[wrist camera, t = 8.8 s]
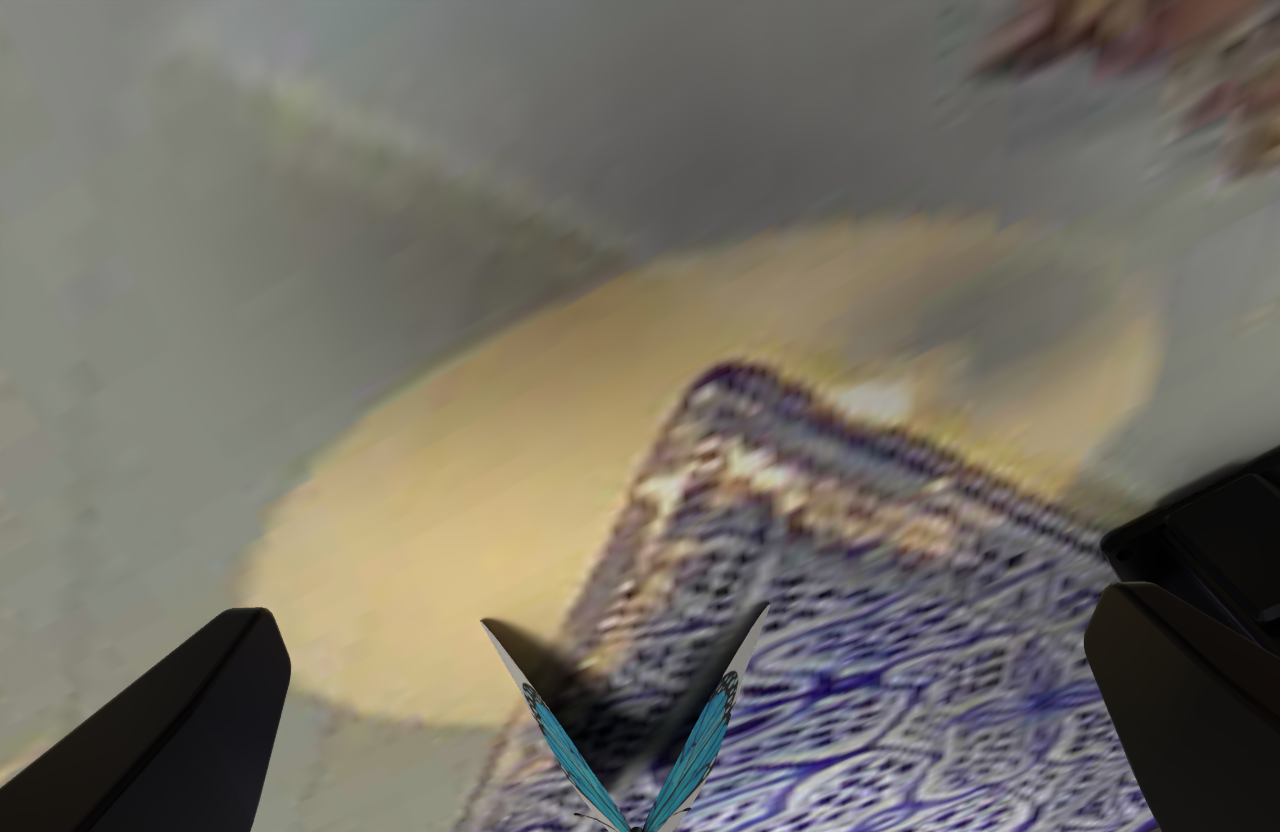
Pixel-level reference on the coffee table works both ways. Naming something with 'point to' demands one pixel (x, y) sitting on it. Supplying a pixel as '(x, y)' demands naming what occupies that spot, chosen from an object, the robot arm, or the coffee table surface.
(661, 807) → the decorative butterfly
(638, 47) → the coffee table surface
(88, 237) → the coffee table surface
